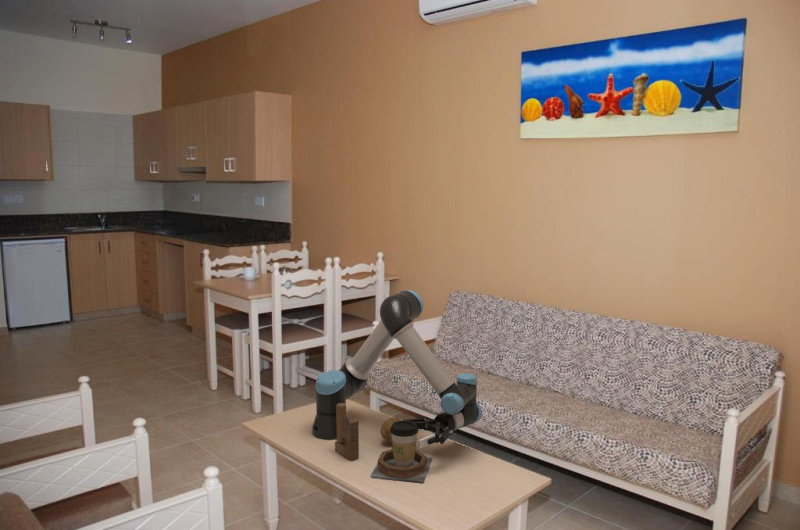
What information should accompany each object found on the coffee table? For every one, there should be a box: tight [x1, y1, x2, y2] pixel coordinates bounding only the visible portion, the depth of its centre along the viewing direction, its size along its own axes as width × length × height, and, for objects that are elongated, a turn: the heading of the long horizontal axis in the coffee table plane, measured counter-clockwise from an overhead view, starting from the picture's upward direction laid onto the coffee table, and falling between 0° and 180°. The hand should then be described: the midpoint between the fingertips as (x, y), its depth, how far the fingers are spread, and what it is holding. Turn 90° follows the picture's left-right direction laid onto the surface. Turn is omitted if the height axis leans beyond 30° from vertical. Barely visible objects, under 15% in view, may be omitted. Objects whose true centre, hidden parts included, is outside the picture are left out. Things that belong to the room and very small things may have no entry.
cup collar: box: [370, 448, 433, 484], centre depth 210 cm, size 18×18×4 cm
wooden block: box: [334, 403, 360, 461], centre depth 220 cm, size 4×11×18 cm, turn 38°
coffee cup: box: [390, 420, 419, 468], centre depth 209 cm, size 10×10×15 cm
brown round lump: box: [380, 417, 402, 444], centre depth 230 cm, size 9×9×10 cm
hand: (405, 437), depth 209 cm, fingers open, 13 cm apart
